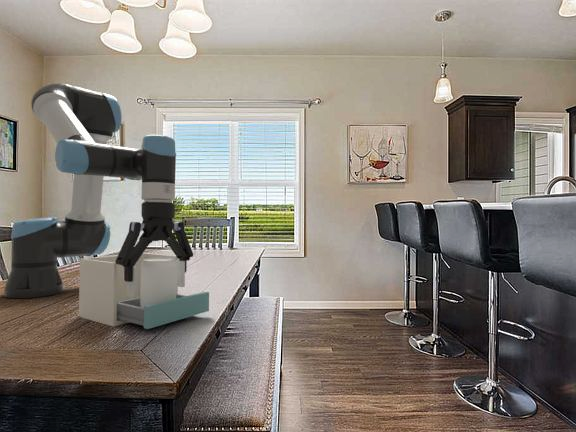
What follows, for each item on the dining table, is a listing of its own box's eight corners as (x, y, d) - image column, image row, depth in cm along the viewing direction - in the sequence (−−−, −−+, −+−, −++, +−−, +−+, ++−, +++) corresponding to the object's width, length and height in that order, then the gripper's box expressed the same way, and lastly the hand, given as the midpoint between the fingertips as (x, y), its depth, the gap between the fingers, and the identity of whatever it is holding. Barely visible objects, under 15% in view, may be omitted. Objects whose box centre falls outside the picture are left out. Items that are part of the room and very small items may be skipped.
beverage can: (182, 306, 91) (182, 258, 91) (165, 315, 83) (165, 262, 83) (152, 304, 93) (153, 256, 93) (132, 312, 85) (133, 260, 85)
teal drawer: (107, 318, 83) (107, 297, 83) (170, 303, 98) (170, 285, 98) (147, 329, 76) (147, 306, 76) (208, 310, 91) (209, 292, 91)
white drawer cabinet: (79, 316, 89) (79, 258, 89) (143, 302, 104) (144, 252, 104) (113, 326, 82) (114, 263, 82) (177, 309, 97) (178, 256, 97)
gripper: (119, 199, 75) (118, 303, 75) (207, 203, 96) (206, 284, 96) (98, 199, 79) (97, 298, 79) (187, 203, 100) (186, 281, 100)
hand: (157, 290), depth 88 cm, fingers open, 13 cm apart
